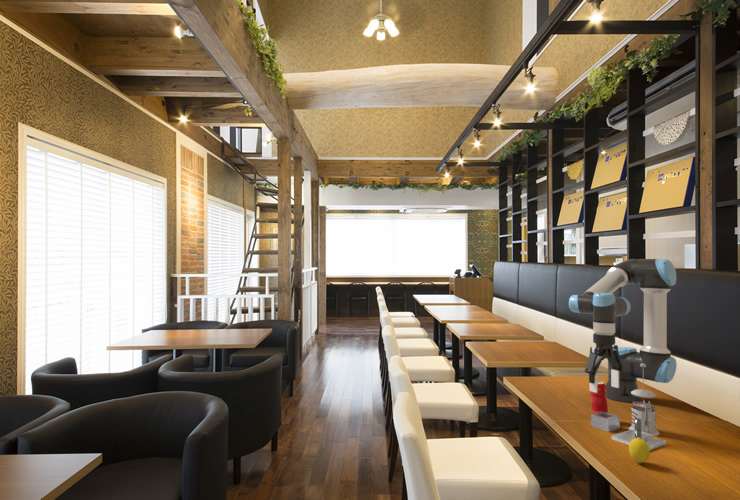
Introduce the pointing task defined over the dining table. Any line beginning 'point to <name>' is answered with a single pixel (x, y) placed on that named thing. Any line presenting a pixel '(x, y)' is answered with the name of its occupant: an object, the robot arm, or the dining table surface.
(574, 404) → the dining table surface
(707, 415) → the dining table surface
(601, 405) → the beverage can
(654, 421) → the french press
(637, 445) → the lemon
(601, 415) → the white square hollow block
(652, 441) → the toggle switch
